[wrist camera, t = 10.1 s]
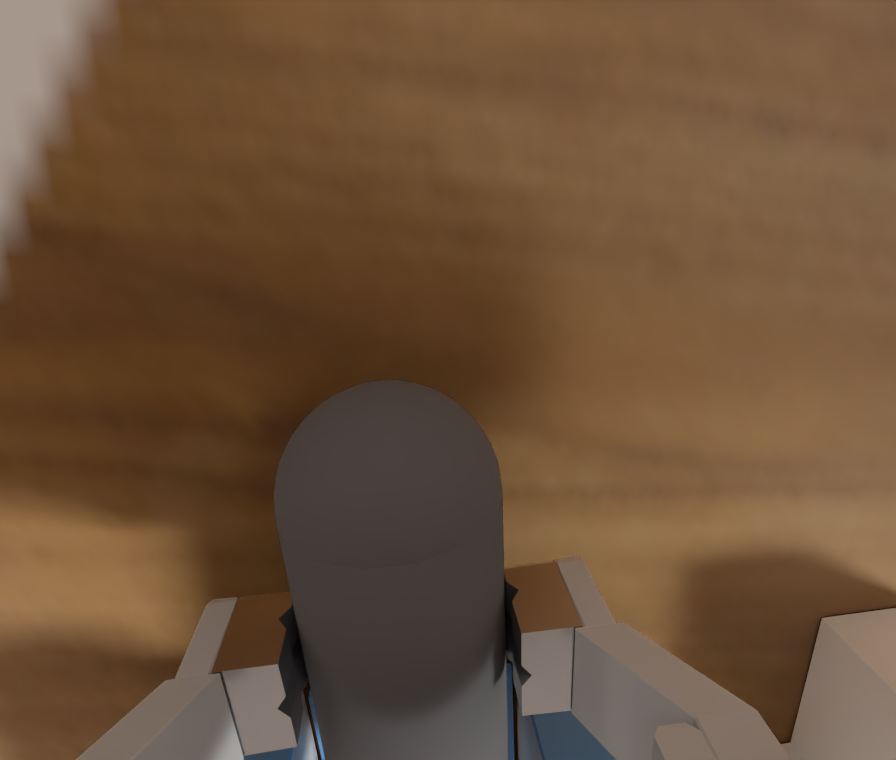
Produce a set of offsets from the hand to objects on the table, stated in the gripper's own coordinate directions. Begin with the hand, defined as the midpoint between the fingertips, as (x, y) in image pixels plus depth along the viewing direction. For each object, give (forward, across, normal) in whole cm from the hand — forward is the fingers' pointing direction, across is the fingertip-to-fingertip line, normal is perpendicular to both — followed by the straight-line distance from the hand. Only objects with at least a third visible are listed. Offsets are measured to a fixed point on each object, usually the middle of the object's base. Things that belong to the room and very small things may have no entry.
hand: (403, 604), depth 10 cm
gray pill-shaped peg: (+2, 0, +1) cm, 2 cm away
